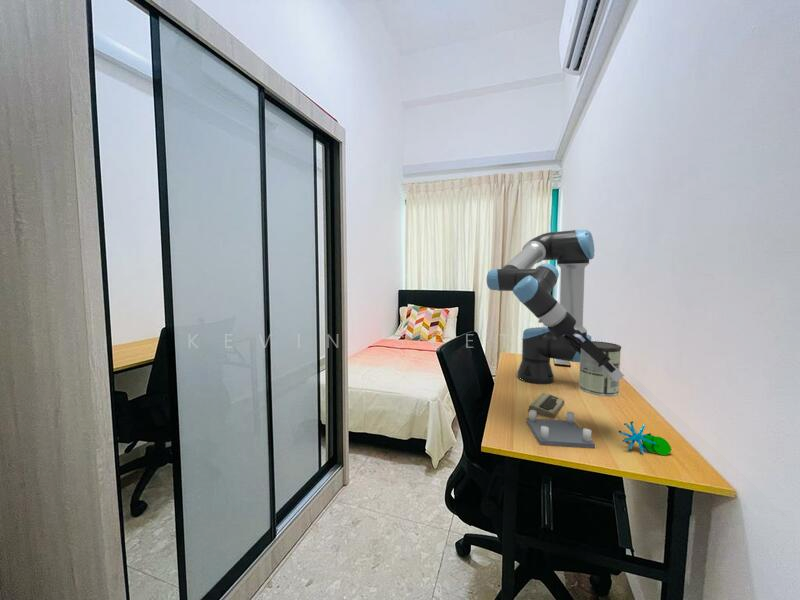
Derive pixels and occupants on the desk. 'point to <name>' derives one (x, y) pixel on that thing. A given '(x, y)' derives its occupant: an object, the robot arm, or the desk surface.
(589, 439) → the chassis
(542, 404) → the computer
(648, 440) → the stick construction toy
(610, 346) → the coffee can
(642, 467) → the desk surface
